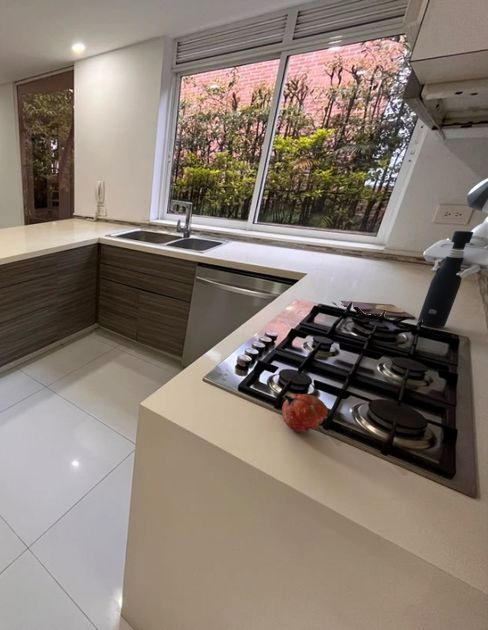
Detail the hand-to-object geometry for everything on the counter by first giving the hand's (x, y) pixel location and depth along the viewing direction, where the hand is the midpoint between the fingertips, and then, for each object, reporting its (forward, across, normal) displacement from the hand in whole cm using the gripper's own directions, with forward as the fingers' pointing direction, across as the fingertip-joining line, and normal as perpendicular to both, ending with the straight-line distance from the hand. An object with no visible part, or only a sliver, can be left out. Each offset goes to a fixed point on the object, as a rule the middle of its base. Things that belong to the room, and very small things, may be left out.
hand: (446, 274), depth 107 cm
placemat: (+15, -16, +10) cm, 24 cm away
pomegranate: (+71, +37, -46) cm, 92 cm away
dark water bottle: (+11, 0, +13) cm, 17 cm away
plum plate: (+18, -18, +7) cm, 26 cm away
